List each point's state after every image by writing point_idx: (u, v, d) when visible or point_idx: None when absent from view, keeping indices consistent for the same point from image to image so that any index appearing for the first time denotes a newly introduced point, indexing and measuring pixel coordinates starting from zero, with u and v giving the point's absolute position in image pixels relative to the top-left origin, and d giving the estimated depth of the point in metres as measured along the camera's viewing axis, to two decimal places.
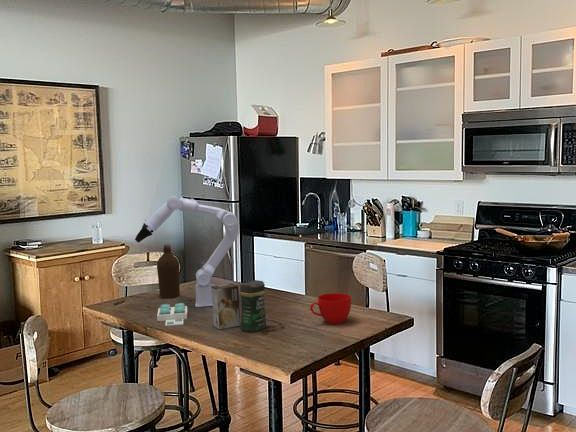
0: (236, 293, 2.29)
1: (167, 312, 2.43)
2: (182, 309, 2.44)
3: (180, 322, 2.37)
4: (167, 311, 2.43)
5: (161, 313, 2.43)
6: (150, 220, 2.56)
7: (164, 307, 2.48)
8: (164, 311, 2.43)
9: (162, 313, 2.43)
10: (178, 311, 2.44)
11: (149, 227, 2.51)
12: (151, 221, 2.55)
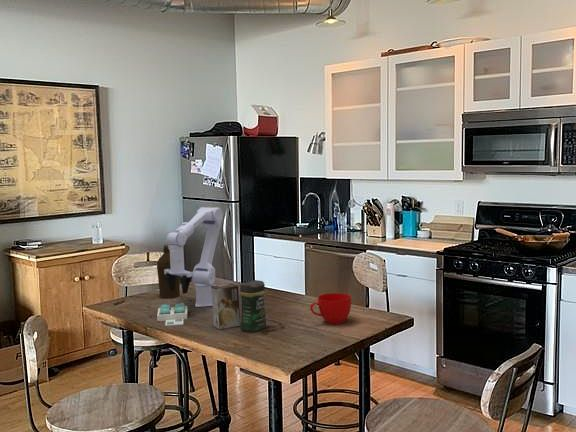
0: (236, 293, 2.29)
1: (167, 312, 2.43)
2: (182, 309, 2.44)
3: (180, 322, 2.37)
4: (167, 311, 2.43)
5: (161, 313, 2.43)
6: (177, 269, 2.47)
7: (164, 307, 2.48)
8: (164, 311, 2.43)
9: (162, 313, 2.43)
10: (178, 311, 2.44)
11: (189, 274, 2.45)
12: (179, 269, 2.47)
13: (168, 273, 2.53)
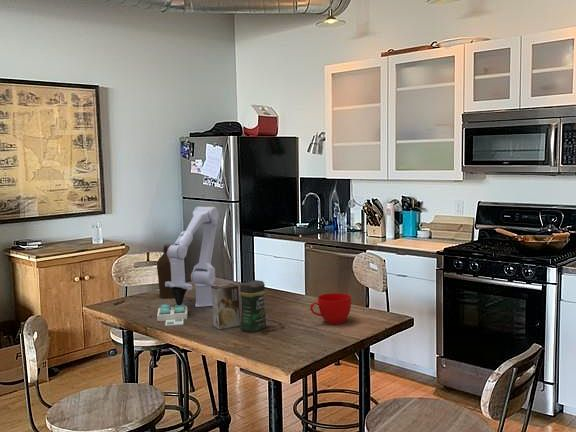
0: (236, 293, 2.29)
1: (167, 312, 2.43)
2: (182, 309, 2.44)
3: (180, 322, 2.37)
4: (167, 311, 2.43)
5: (161, 313, 2.43)
6: (178, 282, 2.47)
7: (164, 307, 2.48)
8: (164, 311, 2.43)
9: (162, 313, 2.43)
10: (178, 311, 2.44)
11: (190, 287, 2.46)
12: (180, 281, 2.48)
13: (169, 285, 2.53)
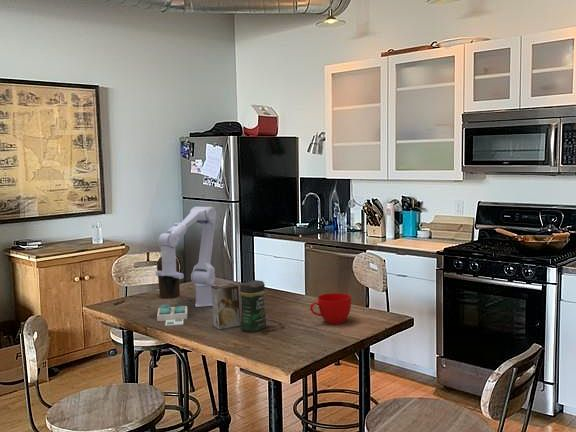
0: (236, 293, 2.29)
1: (167, 312, 2.43)
2: (182, 309, 2.44)
3: (180, 322, 2.37)
4: (167, 311, 2.43)
5: (161, 313, 2.43)
6: (169, 270, 2.43)
7: (164, 307, 2.48)
8: (164, 311, 2.43)
9: (162, 313, 2.43)
10: (178, 311, 2.44)
11: (181, 276, 2.41)
12: (171, 270, 2.43)
13: (160, 275, 2.49)
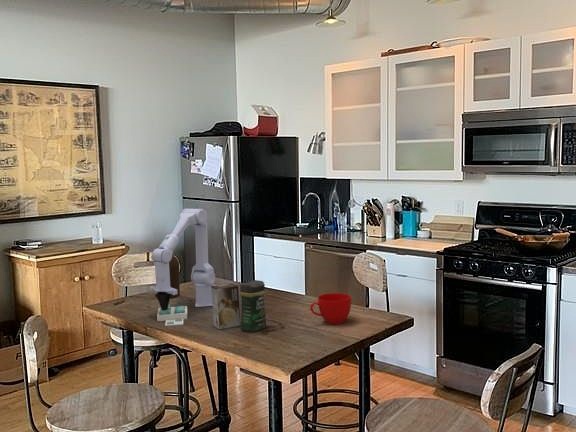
0: (236, 293, 2.29)
1: (167, 313, 2.43)
2: (182, 309, 2.44)
3: (180, 322, 2.37)
4: (167, 312, 2.43)
5: (161, 314, 2.43)
6: (163, 286, 2.41)
7: None
8: (164, 312, 2.43)
9: (162, 314, 2.43)
10: (178, 311, 2.44)
11: (175, 292, 2.39)
12: (165, 286, 2.41)
13: (154, 290, 2.46)
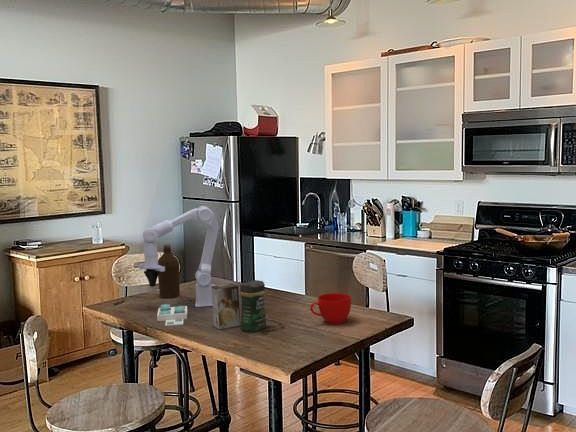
0: (236, 293, 2.29)
1: None
2: (182, 309, 2.44)
3: (180, 322, 2.37)
4: None
5: None
6: (151, 264, 2.56)
7: (164, 307, 2.48)
8: None
9: None
10: (178, 311, 2.44)
11: (162, 269, 2.54)
12: (153, 264, 2.56)
13: (142, 268, 2.61)
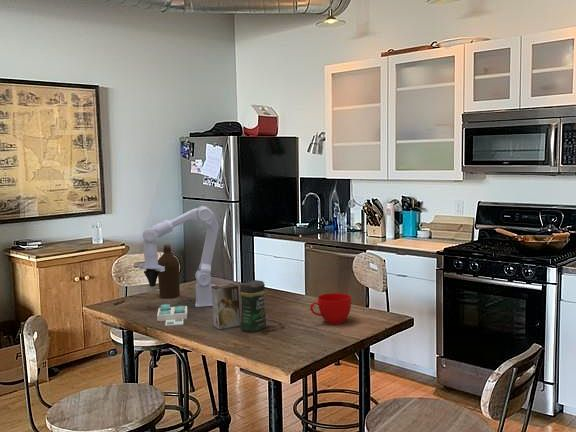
0: (236, 293, 2.29)
1: None
2: (182, 309, 2.44)
3: (180, 322, 2.37)
4: None
5: None
6: (151, 264, 2.56)
7: (164, 307, 2.48)
8: None
9: None
10: (178, 311, 2.44)
11: (162, 268, 2.54)
12: (153, 263, 2.56)
13: (142, 268, 2.62)
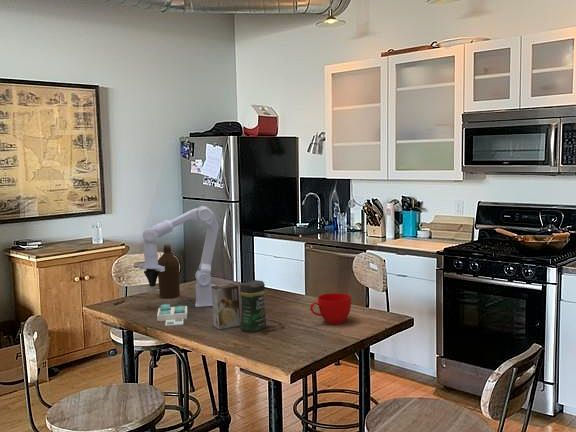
0: (236, 293, 2.29)
1: None
2: (182, 309, 2.44)
3: (180, 322, 2.37)
4: None
5: None
6: (151, 264, 2.56)
7: (164, 307, 2.48)
8: None
9: None
10: (178, 311, 2.44)
11: (162, 268, 2.54)
12: (153, 263, 2.56)
13: (142, 268, 2.62)
